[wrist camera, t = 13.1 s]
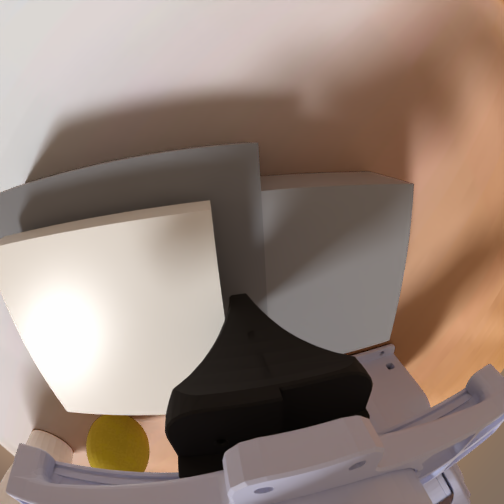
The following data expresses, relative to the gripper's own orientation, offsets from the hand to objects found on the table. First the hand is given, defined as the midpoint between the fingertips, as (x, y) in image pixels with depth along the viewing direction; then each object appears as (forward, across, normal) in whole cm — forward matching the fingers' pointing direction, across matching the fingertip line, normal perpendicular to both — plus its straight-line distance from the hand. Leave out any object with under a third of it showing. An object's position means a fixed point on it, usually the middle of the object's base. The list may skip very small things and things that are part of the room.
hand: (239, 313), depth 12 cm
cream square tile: (0, +6, 0) cm, 6 cm away
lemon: (+6, +12, +14) cm, 19 cm away
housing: (+6, +2, 0) cm, 6 cm away
